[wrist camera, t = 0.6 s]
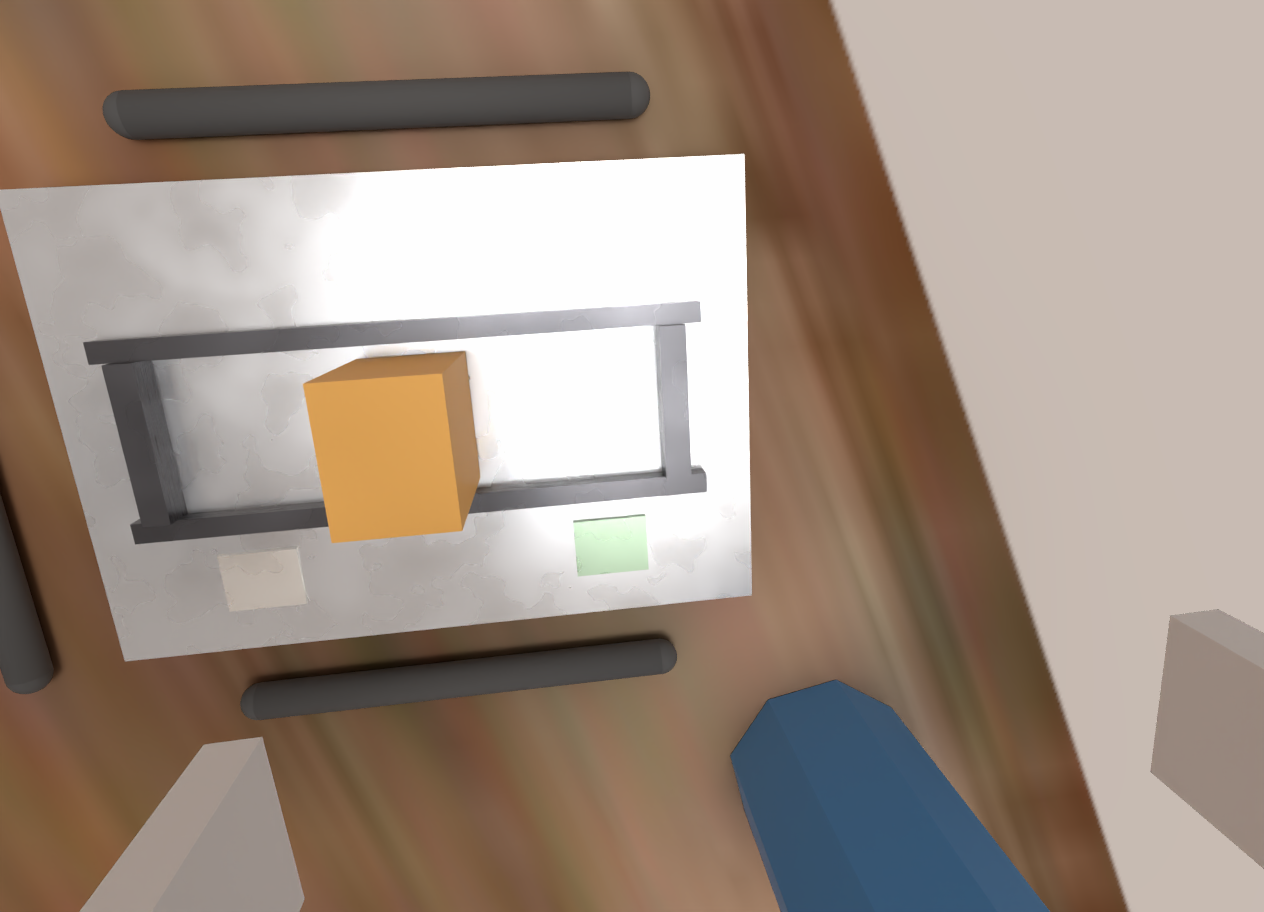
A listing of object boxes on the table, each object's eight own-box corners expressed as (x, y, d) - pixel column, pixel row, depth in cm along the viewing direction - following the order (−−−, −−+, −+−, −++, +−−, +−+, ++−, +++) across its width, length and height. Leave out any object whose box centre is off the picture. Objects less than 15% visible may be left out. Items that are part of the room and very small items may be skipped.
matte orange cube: (376, 486, 28) (331, 543, 22) (356, 358, 27) (302, 383, 21) (480, 477, 28) (462, 531, 22) (465, 351, 27) (441, 373, 21)
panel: (157, 631, 31) (105, 679, 28) (45, 197, 27) (-36, 185, 23) (737, 571, 34) (760, 608, 30) (728, 163, 29) (753, 148, 25)
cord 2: (252, 708, 33) (238, 729, 31) (246, 677, 32) (230, 697, 31) (674, 660, 34) (680, 678, 33) (673, 630, 34) (678, 647, 32)
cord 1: (125, 144, 26) (98, 136, 25) (114, 96, 26) (87, 86, 24) (648, 121, 28) (653, 113, 27) (645, 76, 28) (651, 65, 26)
